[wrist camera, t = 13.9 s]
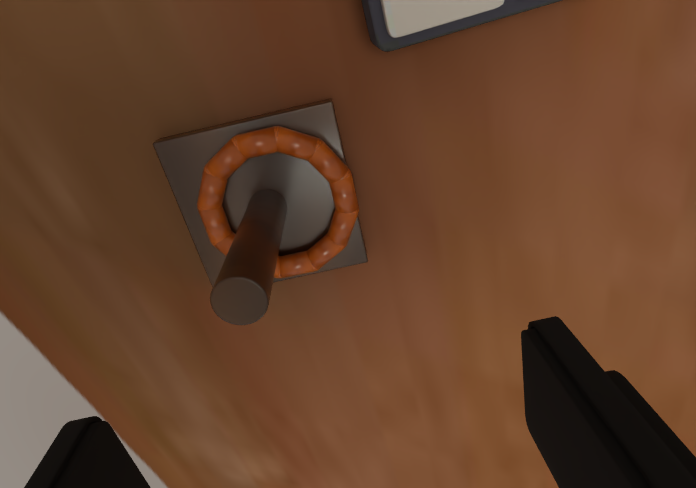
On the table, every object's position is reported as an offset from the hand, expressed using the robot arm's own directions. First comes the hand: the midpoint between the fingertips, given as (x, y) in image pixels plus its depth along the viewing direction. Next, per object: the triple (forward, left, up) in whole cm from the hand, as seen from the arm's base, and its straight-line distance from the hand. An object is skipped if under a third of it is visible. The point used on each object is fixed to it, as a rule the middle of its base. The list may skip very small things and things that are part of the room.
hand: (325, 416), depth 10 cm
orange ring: (-2, 0, -14) cm, 14 cm away
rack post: (-3, 0, -16) cm, 16 cm away
